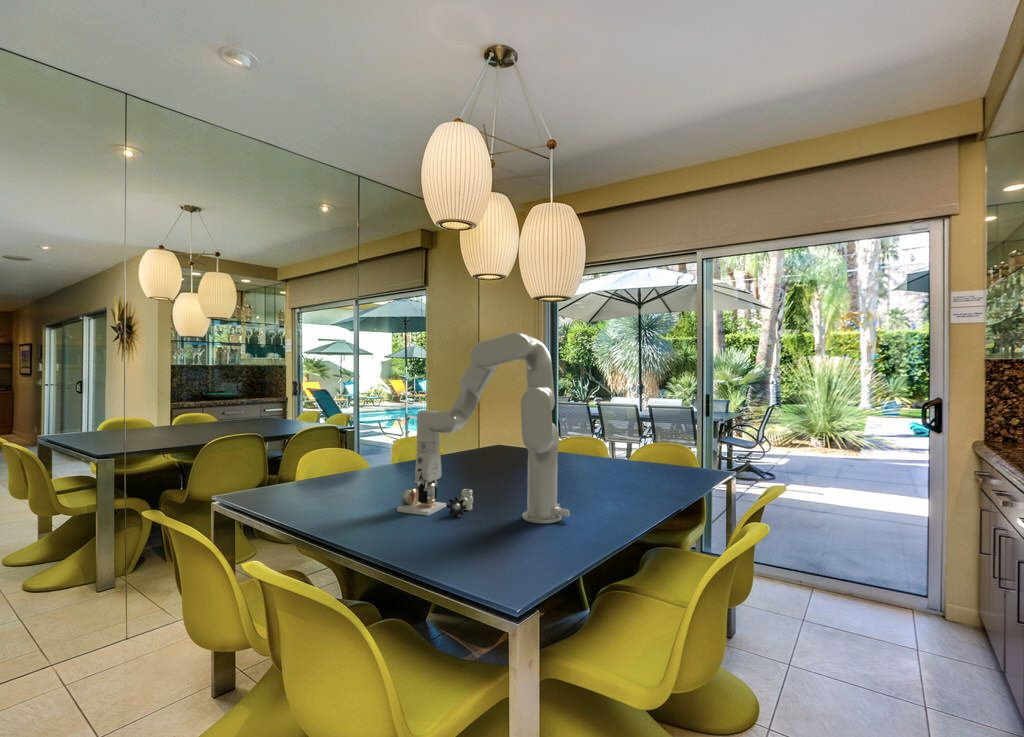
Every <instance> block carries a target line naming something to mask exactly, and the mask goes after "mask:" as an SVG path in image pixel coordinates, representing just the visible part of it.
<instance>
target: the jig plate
mask: <svg viewBox="0 0 1024 737" xmlns="http://www.w3.org/2000/svg"><path fill="white" fill-rule="evenodd" d="M444 507H445V508H447V503H446V502H439V501H435V502H434V503H432V504H422V503H420V502H418V503H417V504H415V505H413V506H410V504H407V505H405V506H401V505H400V506H398V507H396V512H397V511H398V512H399V513H407V514H413V515H420V516H421V515H422V516H427V517H428V516H430V515H433V514H434V513H436V512H438V511H440V510H442V508H443V509H445V508H444Z"/></svg>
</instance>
